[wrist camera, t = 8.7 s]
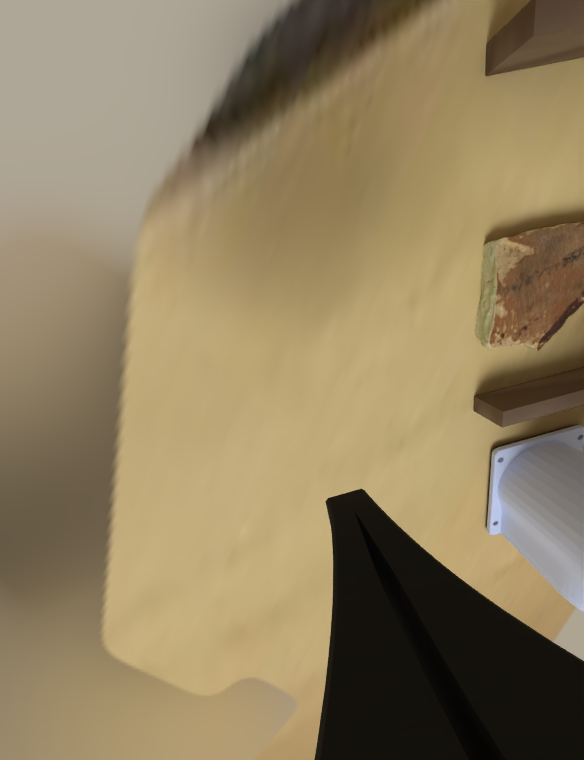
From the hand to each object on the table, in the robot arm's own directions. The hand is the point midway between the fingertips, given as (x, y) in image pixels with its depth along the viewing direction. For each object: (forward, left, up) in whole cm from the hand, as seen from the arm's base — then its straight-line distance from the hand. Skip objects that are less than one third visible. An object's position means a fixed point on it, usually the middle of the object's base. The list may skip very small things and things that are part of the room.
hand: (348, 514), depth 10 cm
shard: (+5, -17, -10) cm, 20 cm away
